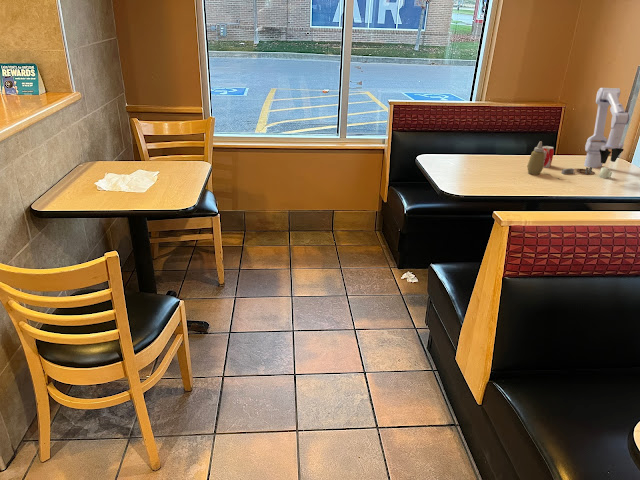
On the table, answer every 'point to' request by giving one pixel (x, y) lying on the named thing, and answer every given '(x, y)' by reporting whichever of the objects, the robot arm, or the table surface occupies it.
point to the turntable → (578, 171)
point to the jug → (605, 173)
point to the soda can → (548, 156)
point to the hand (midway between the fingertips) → (607, 162)
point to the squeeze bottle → (536, 160)
